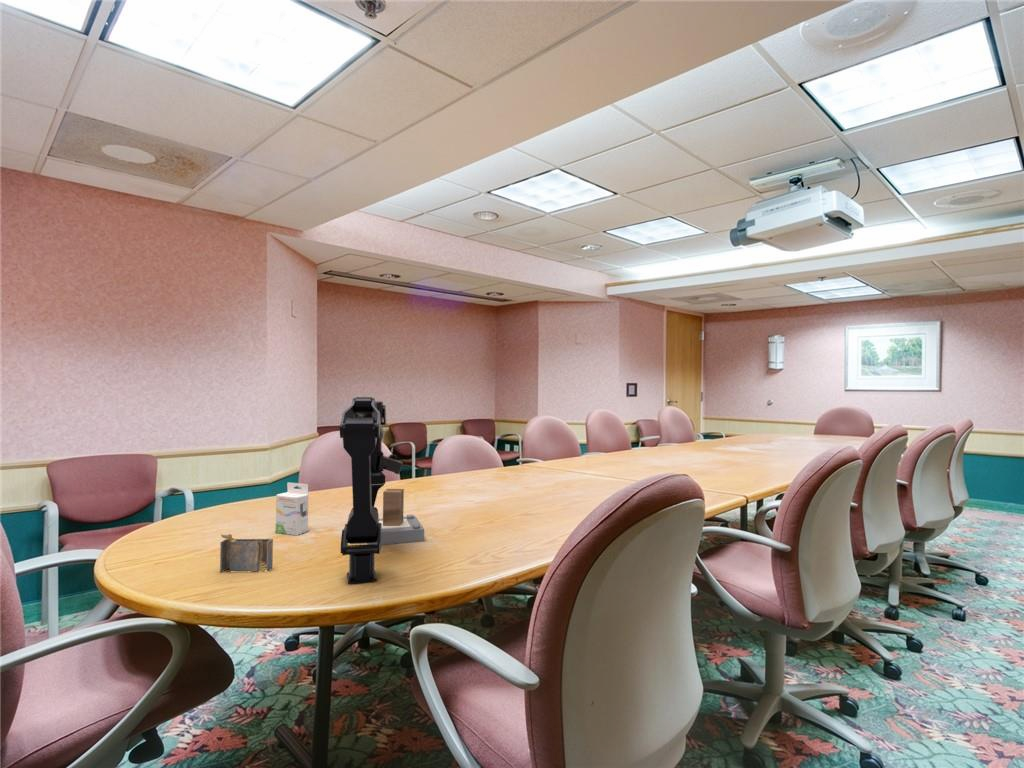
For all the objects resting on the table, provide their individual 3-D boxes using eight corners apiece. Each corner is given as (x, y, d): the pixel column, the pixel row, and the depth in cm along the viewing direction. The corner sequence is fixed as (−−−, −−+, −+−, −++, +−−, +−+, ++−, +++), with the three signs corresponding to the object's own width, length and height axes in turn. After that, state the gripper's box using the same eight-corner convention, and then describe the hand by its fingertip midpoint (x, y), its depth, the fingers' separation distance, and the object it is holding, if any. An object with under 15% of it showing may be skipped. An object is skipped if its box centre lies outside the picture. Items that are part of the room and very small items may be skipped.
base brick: (424, 541, 153) (424, 526, 153) (367, 546, 148) (367, 530, 148) (415, 527, 168) (415, 513, 168) (363, 531, 163) (364, 517, 163)
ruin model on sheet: (219, 574, 126) (219, 534, 126) (225, 570, 129) (226, 530, 129) (267, 574, 126) (267, 534, 126) (272, 570, 129) (272, 530, 129)
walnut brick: (399, 525, 155) (400, 492, 156) (382, 525, 156) (383, 492, 156) (403, 521, 160) (403, 488, 161) (387, 521, 161) (387, 488, 161)
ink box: (274, 533, 160) (275, 484, 160) (286, 529, 164) (286, 481, 164) (297, 536, 157) (298, 486, 157) (308, 531, 162) (309, 483, 162)
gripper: (405, 450, 135) (405, 511, 135) (396, 443, 153) (396, 496, 153) (360, 452, 131) (360, 514, 131) (356, 444, 149) (356, 498, 149)
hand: (370, 505), depth 141 cm, fingers open, 9 cm apart
